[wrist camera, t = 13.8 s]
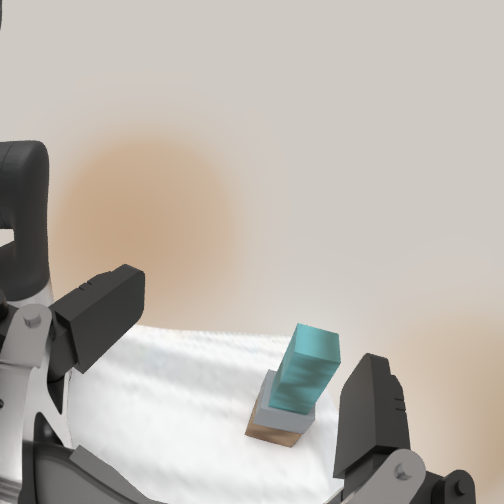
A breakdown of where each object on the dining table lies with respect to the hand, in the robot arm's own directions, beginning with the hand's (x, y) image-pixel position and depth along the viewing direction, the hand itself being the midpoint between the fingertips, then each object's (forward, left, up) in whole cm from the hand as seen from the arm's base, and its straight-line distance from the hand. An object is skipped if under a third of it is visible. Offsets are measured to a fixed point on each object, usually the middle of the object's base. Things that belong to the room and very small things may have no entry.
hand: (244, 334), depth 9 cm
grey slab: (+6, +17, -26) cm, 32 cm away
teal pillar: (+6, +17, -22) cm, 28 cm away
